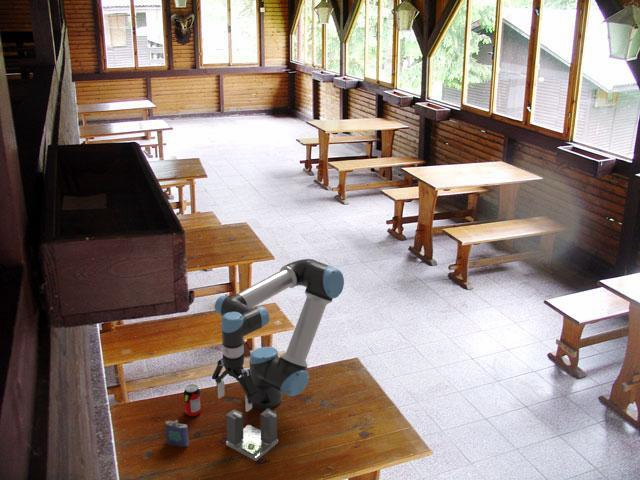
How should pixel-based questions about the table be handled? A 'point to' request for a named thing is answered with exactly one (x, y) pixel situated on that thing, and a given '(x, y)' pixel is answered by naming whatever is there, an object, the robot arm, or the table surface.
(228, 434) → the grey upright post
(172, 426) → the flask
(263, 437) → the grey tall block
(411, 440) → the table surface
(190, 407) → the beverage can
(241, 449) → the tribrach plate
